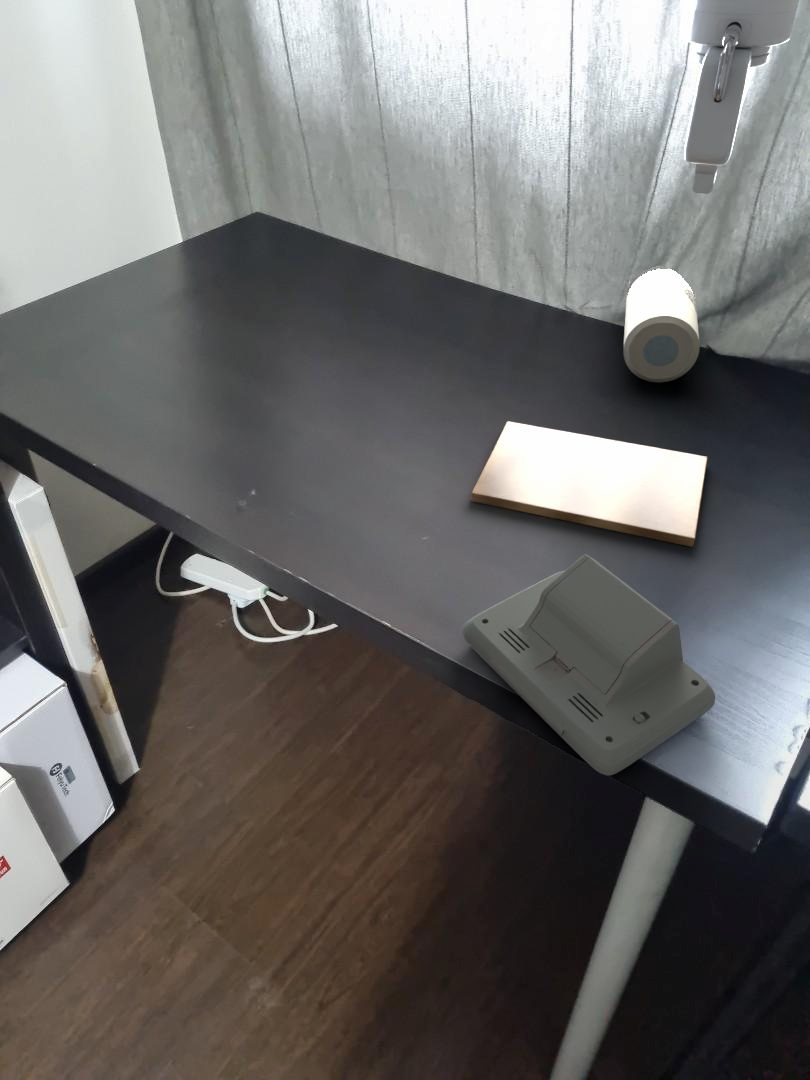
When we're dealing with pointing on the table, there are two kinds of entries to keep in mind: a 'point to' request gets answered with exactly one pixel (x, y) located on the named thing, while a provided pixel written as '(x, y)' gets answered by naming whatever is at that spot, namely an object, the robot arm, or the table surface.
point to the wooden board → (595, 482)
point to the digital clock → (593, 663)
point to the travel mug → (660, 326)
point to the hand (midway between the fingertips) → (702, 188)
